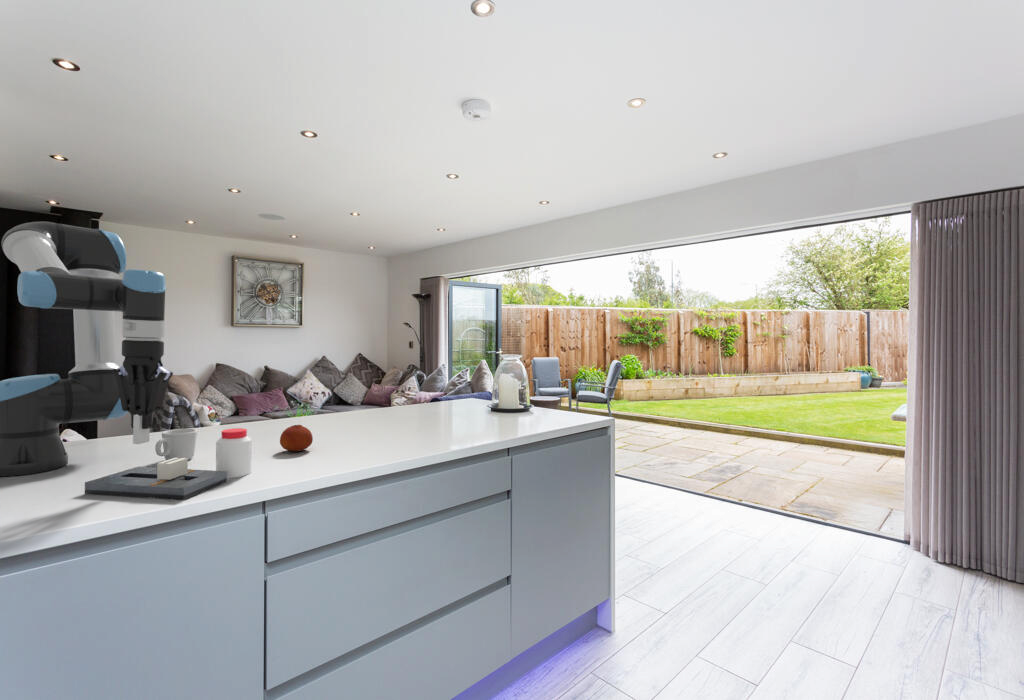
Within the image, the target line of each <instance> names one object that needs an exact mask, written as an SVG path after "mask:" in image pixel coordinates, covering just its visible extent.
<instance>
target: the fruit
mask: <svg viewBox="0 0 1024 700" xmlns="http://www.w3.org/2000/svg"><path fill="white" fill-rule="evenodd" d="M313 441H314V439H313V434H312V432H311V430H310V429H308V428H307V427H305V426H303V425H302V424H294V425H290V426H288V427H286V429H284V430H283V431H282V433H280V438H279V445H280V446H281V447H282V449H284V450H286V451H289V452H293V453H295V452H301V451H305V450H306V449H308V448H309V447H311V445H312V443H313Z"/></svg>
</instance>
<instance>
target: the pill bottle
mask: <svg viewBox="0 0 1024 700" xmlns="http://www.w3.org/2000/svg"><path fill="white" fill-rule="evenodd" d="M247 432H248V429H247V428H239V427H238V428H235V427H234V428H228V429H223V430H221V437H220V438H218V439H217V441H216V442H215V447H216V448H215V471H227V479H233V478H240V477H245V476H249V475H250V474H251V473H252V454H253V453H252V446H253V444H252V442H253V441H252V438H251V437H250V436H248V434H247Z"/></svg>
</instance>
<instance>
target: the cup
mask: <svg viewBox="0 0 1024 700" xmlns="http://www.w3.org/2000/svg"><path fill="white" fill-rule="evenodd" d="M197 436H198V430H197V429H196V428H176V429H175V428H174V429H167V430H165V431H163V432H162V433H161V439H158V441H156V443H155V446H154V449H155V453H156V455H157V456H158V457H164V459H165V461H166V460H169V459H173V458H188V461H190V460H191V459H193V458H194V456H195V451H196V443H197ZM162 445H163V446H162ZM162 447H163V452H162Z"/></svg>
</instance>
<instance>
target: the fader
mask: <svg viewBox="0 0 1024 700" xmlns="http://www.w3.org/2000/svg"><path fill="white" fill-rule="evenodd" d="M188 461H189V460H188V458H173V459H169V460H166V459H165V460H163V461H161V462H157V463H156V464H157V465H156V466H157V467H156V468H157V479H167V480H185V477H179V476H181V475H184V474H187V470H188V469H189V467H188Z"/></svg>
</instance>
